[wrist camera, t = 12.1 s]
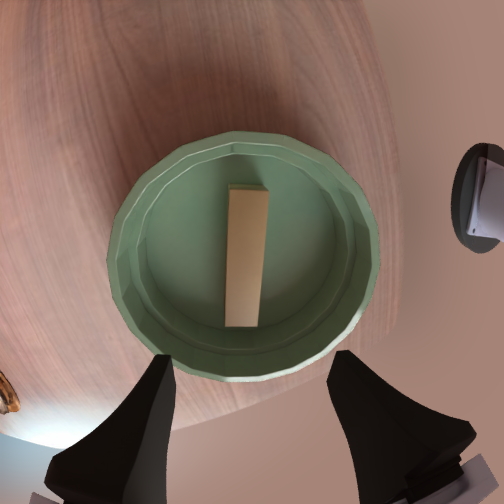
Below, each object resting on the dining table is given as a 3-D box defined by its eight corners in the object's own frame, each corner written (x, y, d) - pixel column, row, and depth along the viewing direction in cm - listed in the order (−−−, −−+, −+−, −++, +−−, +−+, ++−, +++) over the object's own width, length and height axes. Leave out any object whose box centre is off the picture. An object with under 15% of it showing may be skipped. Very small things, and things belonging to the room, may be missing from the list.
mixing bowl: (359, 148, 17) (400, 153, 13) (326, 333, 23) (346, 373, 18) (130, 135, 16) (98, 134, 11) (145, 333, 21) (131, 377, 17)
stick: (264, 184, 17) (269, 190, 15) (254, 309, 20) (257, 327, 18) (228, 183, 17) (229, 188, 15) (224, 309, 20) (224, 327, 18)
